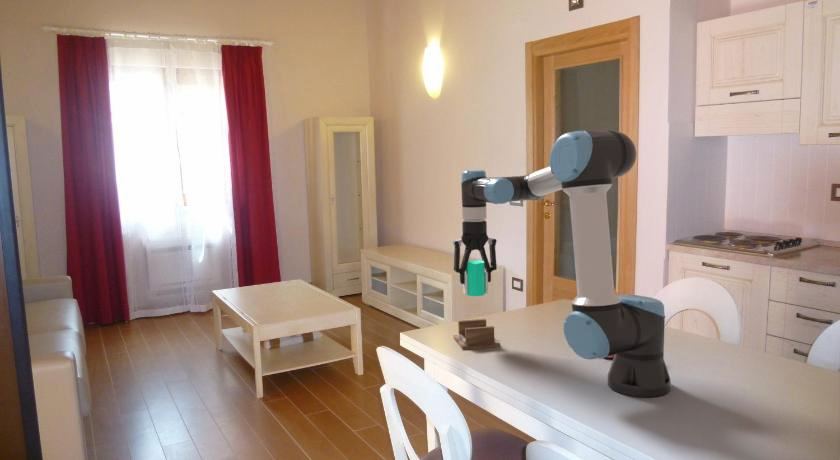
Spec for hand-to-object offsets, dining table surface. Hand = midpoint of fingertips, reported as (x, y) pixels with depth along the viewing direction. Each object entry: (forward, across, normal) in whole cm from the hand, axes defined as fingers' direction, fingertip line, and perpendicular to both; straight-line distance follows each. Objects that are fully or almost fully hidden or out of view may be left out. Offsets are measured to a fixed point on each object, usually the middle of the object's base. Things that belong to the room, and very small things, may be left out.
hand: (475, 292), depth 195 cm
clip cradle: (+16, 0, 0) cm, 16 cm away
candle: (+1, 0, 0) cm, 1 cm away
